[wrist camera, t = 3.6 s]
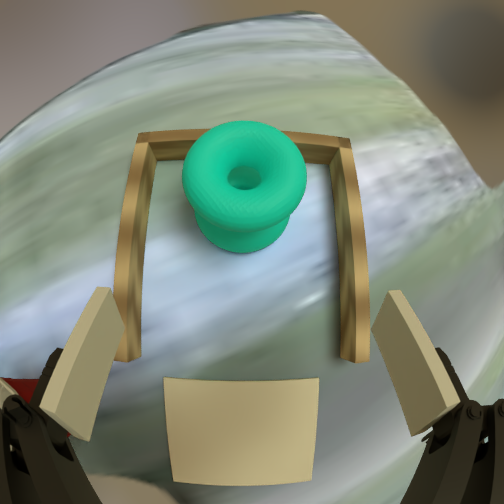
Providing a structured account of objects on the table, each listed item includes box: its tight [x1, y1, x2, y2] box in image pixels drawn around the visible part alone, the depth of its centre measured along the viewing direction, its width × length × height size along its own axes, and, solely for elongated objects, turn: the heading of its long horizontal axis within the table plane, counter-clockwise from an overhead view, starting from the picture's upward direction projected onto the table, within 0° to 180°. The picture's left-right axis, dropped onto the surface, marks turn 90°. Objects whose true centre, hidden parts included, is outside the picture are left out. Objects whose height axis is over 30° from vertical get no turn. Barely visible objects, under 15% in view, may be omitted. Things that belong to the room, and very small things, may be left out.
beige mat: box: [164, 377, 319, 486], centre depth 24 cm, size 14×16×1 cm
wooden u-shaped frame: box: [113, 129, 370, 363], centre depth 26 cm, size 24×24×4 cm
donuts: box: [182, 121, 307, 253], centre depth 24 cm, size 10×10×10 cm
